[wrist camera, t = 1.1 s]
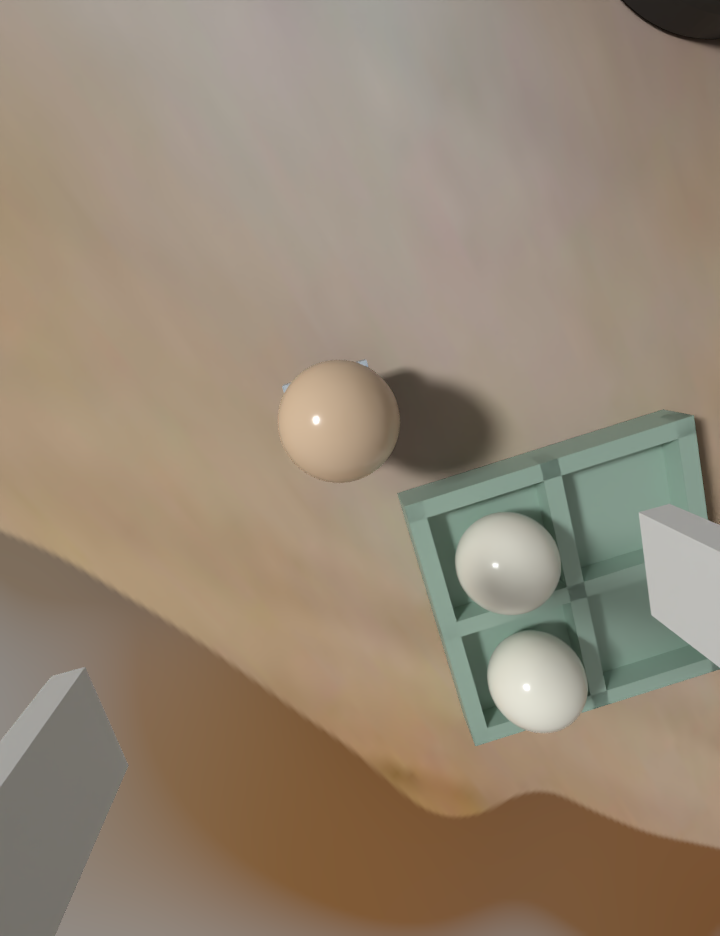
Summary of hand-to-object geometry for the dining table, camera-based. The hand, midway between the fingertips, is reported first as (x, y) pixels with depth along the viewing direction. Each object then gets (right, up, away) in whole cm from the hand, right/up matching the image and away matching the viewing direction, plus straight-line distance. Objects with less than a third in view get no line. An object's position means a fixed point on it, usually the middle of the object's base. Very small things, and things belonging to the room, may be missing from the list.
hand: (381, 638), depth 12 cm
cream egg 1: (+7, 0, +18) cm, 19 cm away
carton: (+12, -3, +20) cm, 23 cm away
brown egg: (-2, +7, +13) cm, 15 cm away
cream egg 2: (+9, -7, +20) cm, 23 cm away
